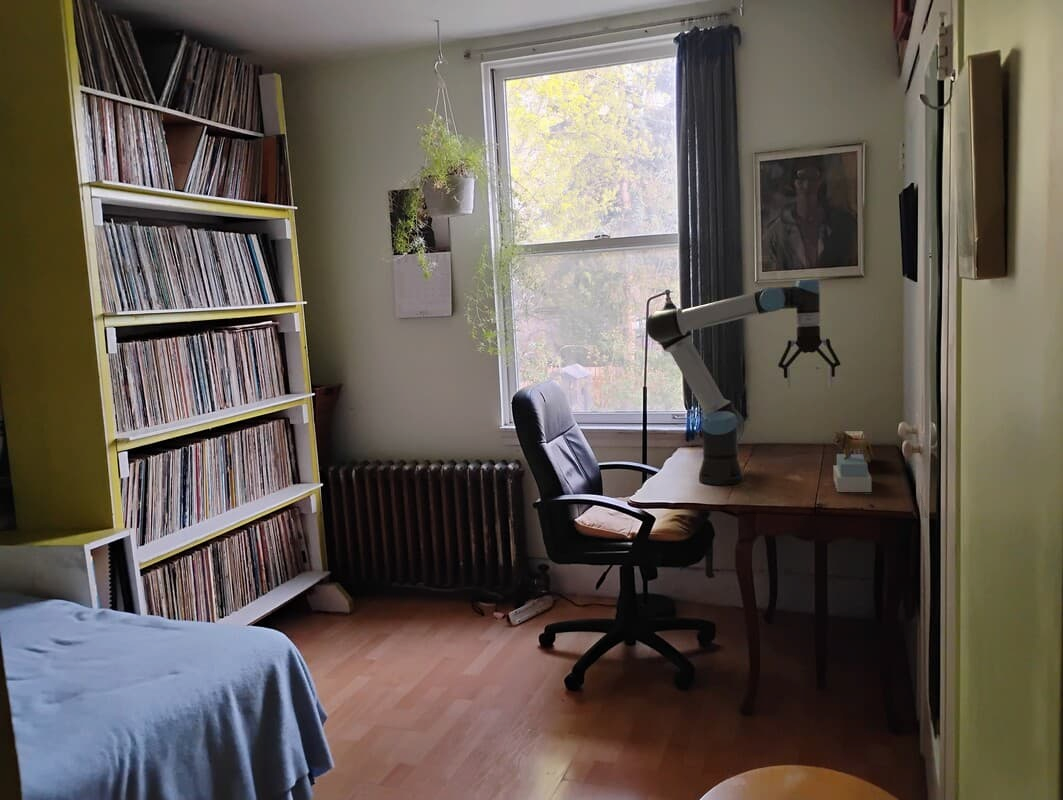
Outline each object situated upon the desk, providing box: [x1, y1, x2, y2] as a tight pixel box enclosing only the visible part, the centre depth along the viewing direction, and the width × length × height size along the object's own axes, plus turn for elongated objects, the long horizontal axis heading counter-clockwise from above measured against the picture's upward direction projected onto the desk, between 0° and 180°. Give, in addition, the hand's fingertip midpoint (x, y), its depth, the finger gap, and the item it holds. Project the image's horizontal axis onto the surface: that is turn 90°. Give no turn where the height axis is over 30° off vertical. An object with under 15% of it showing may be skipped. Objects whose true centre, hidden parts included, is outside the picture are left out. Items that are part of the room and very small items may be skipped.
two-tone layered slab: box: [832, 453, 872, 493], centre depth 275 cm, size 10×18×9 cm, turn 164°
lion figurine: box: [832, 430, 879, 463], centre depth 273 cm, size 15×5×9 cm, turn 45°
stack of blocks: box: [842, 430, 866, 458], centre depth 305 cm, size 21×6×12 cm, turn 155°
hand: (809, 387), depth 291 cm, fingers open, 13 cm apart
